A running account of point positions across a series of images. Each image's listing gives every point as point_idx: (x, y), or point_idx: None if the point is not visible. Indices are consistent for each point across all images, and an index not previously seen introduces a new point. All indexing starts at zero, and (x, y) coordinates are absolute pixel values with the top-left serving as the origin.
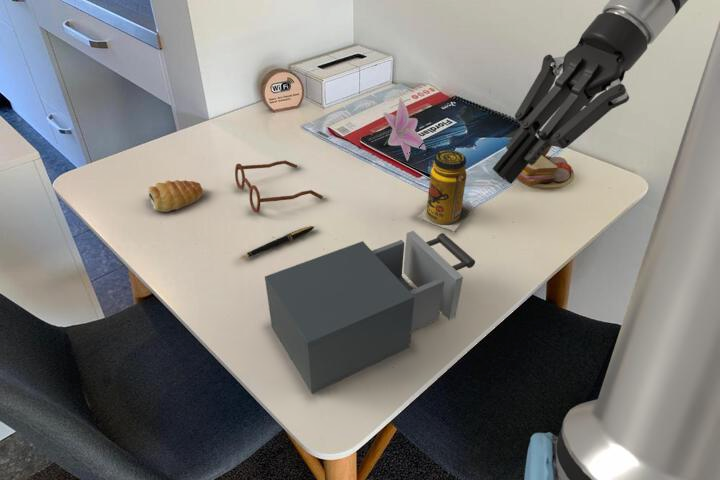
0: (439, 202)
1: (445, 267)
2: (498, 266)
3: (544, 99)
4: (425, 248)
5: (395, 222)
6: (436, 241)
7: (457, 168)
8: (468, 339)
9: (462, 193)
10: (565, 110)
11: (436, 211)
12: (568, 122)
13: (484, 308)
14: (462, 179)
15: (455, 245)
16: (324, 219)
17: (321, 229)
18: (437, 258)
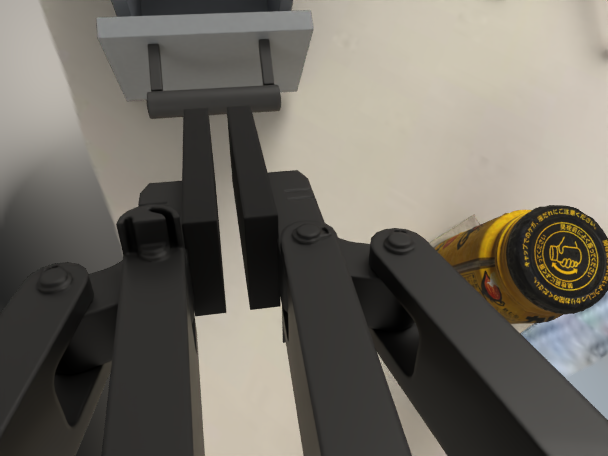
0: (461, 234)
1: (147, 19)
2: (236, 296)
3: (367, 381)
4: (234, 17)
5: (473, 160)
6: (262, 73)
7: (507, 254)
8: (76, 105)
9: None
10: (121, 414)
11: (452, 237)
12: (31, 367)
13: (134, 184)
14: (483, 282)
15: (218, 96)
16: (534, 25)
17: (502, 5)
18: (187, 22)
